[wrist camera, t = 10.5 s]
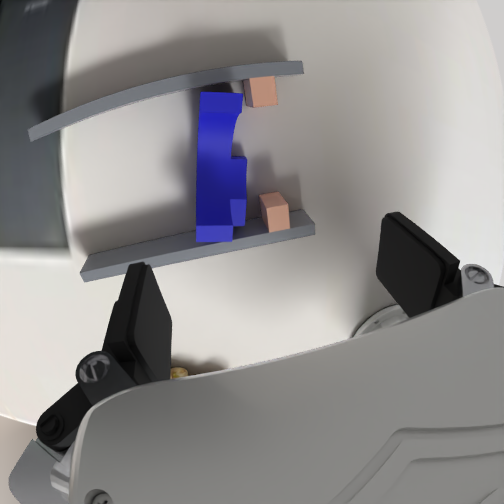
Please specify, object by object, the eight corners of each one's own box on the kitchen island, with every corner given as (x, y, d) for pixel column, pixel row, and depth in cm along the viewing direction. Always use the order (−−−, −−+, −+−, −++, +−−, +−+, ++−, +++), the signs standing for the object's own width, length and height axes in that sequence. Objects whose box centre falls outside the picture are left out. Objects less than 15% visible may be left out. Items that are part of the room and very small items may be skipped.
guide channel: (289, 64, 22) (302, 60, 19) (303, 219, 31) (315, 234, 28) (45, 124, 21) (27, 129, 18) (92, 264, 29) (84, 282, 26)
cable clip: (240, 213, 30) (249, 241, 25) (196, 213, 29) (196, 242, 24) (250, 95, 24) (263, 95, 19) (200, 92, 23) (200, 91, 18)
